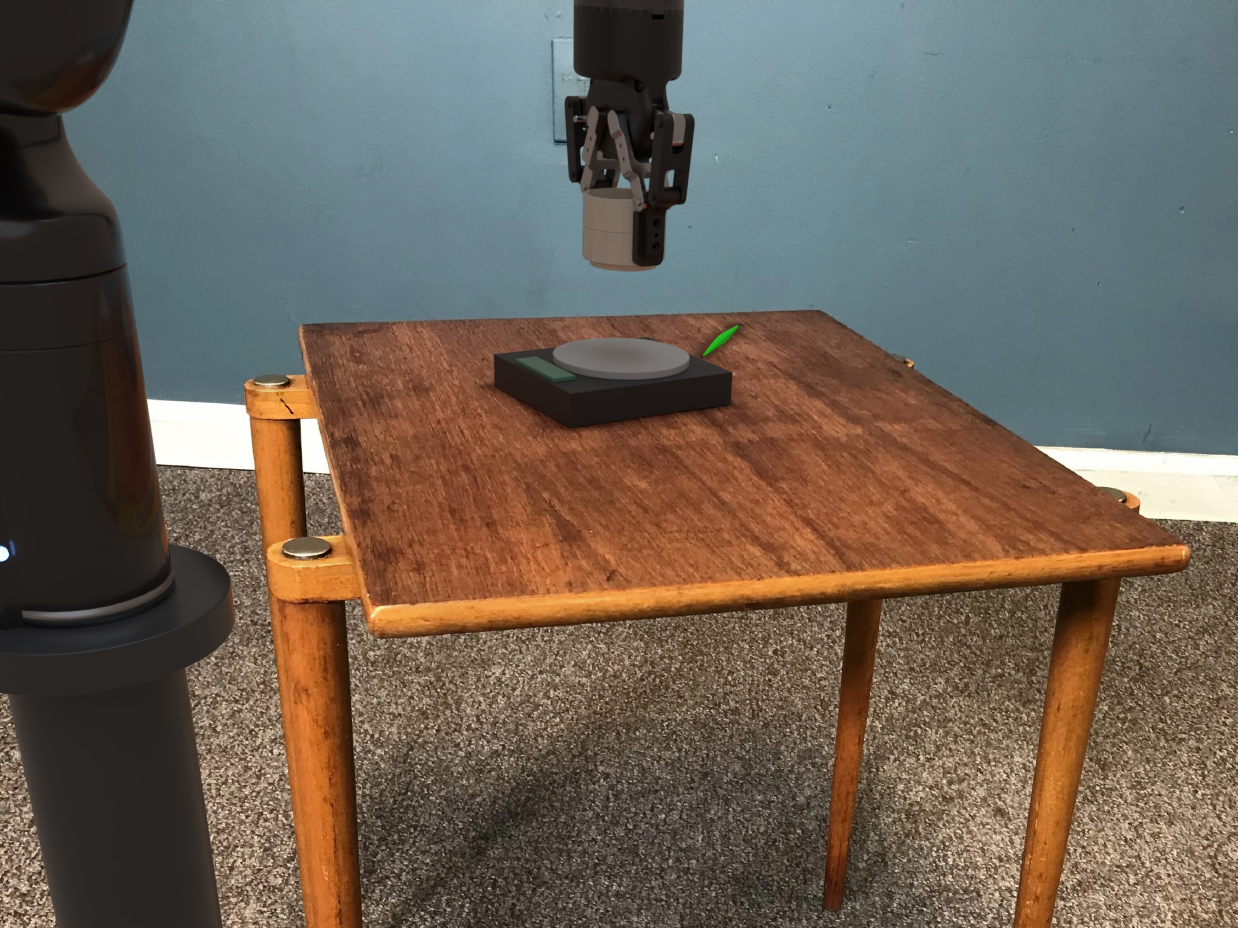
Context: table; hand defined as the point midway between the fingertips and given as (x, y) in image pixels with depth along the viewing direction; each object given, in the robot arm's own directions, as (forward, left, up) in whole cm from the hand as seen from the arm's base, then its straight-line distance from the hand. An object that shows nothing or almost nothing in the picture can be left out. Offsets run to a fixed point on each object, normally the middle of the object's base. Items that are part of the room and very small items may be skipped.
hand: (623, 255), depth 100 cm
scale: (-1, 0, -10) cm, 10 cm away
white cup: (0, 0, -1) cm, 1 cm away
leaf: (+17, +11, -11) cm, 23 cm away
